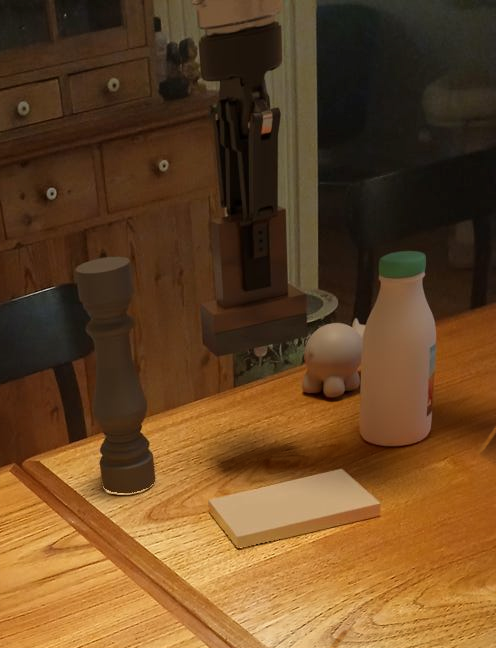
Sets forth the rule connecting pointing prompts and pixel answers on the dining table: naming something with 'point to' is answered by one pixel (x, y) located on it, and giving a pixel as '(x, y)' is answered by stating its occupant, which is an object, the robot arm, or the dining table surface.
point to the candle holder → (116, 375)
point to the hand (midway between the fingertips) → (251, 284)
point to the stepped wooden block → (250, 294)
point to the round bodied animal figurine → (333, 359)
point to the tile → (293, 508)
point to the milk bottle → (398, 356)
